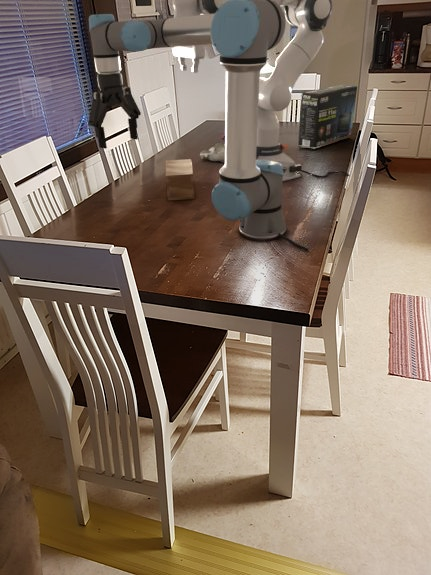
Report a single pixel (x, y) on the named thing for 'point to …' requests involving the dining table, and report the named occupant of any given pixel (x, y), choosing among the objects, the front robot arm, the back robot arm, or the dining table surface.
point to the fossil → (215, 153)
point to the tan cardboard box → (179, 179)
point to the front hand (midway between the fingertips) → (119, 143)
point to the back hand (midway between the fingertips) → (189, 71)
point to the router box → (326, 115)
